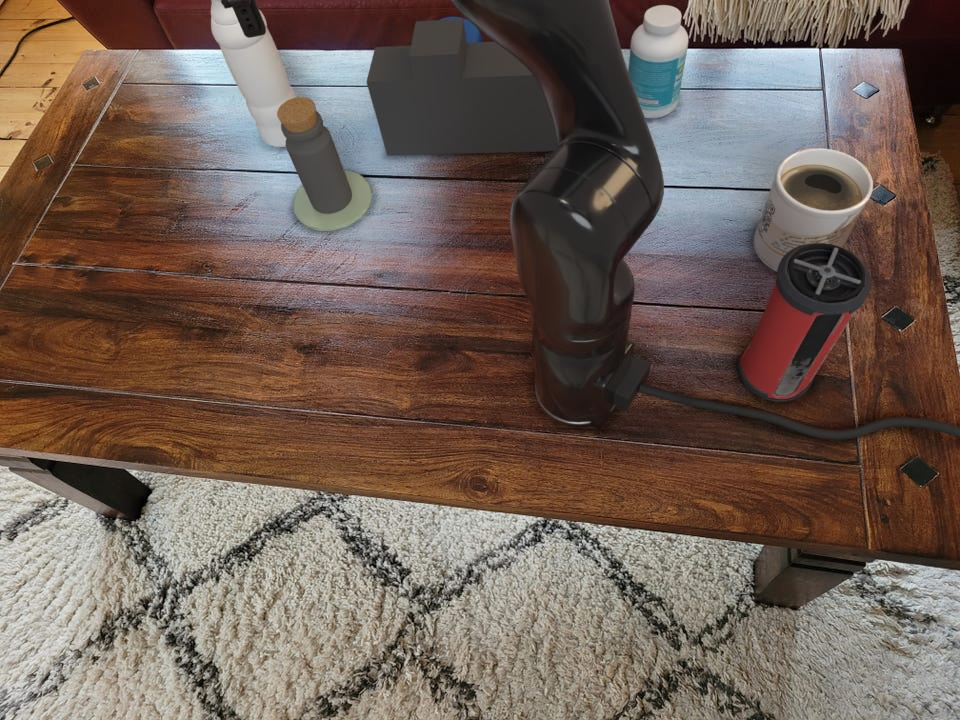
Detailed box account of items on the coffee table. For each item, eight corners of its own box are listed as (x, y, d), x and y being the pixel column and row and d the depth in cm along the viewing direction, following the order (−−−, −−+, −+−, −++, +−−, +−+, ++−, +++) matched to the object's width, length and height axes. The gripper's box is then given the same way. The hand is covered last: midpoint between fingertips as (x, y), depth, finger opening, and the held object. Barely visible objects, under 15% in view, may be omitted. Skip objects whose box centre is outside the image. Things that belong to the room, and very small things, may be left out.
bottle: (304, 196, 96) (264, 107, 83) (340, 177, 97) (306, 86, 84) (322, 221, 93) (284, 133, 80) (360, 200, 94) (328, 111, 81)
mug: (731, 248, 84) (753, 182, 75) (784, 191, 88) (810, 121, 78) (811, 291, 80) (844, 227, 70) (862, 229, 84) (900, 160, 74)
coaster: (387, 189, 96) (386, 186, 95) (336, 242, 91) (335, 239, 91) (329, 163, 100) (328, 160, 99) (278, 212, 95) (277, 209, 95)
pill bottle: (681, 119, 97) (697, 30, 85) (627, 122, 97) (636, 35, 86) (674, 84, 101) (688, -5, 89) (622, 88, 101) (630, 0, 90)
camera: (563, 76, 104) (562, -27, 91) (561, 151, 96) (560, 49, 82) (402, 83, 107) (379, -16, 94) (387, 155, 99) (359, 58, 86)
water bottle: (317, 125, 104) (254, -41, 83) (287, 155, 101) (214, -9, 80) (283, 112, 107) (213, -53, 85) (253, 141, 104) (173, -22, 83)
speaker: (750, 332, 78) (796, 225, 62) (820, 359, 75) (886, 253, 60) (726, 386, 75) (768, 286, 59) (798, 415, 72) (861, 319, 57)
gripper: (146, -197, 61) (222, -20, 75) (131, -124, 54) (219, 59, 68) (227, -214, 61) (289, -33, 75) (224, -143, 54) (293, 43, 68)
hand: (256, 10), depth 72 cm, fingers open, 8 cm apart
